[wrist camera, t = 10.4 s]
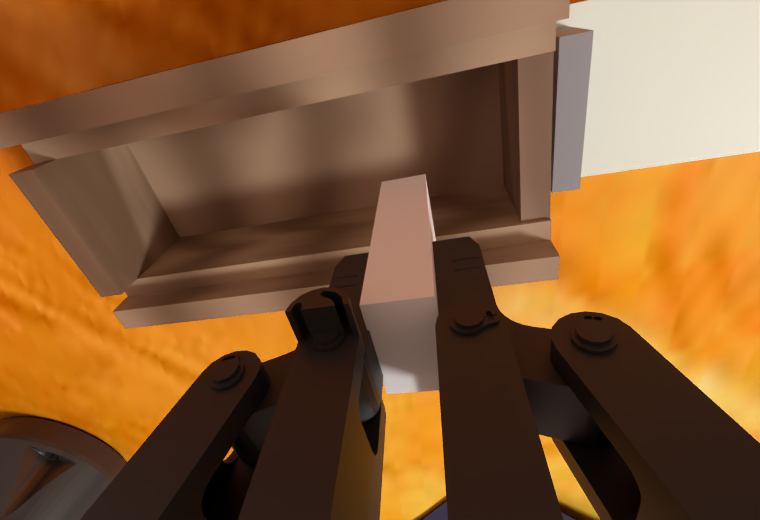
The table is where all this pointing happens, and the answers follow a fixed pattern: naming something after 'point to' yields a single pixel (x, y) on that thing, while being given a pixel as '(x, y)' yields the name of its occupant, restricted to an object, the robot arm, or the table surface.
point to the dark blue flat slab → (440, 515)
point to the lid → (653, 85)
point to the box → (301, 158)
